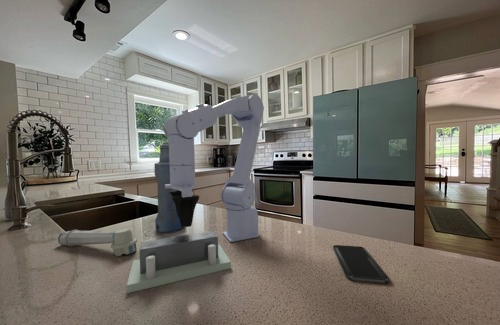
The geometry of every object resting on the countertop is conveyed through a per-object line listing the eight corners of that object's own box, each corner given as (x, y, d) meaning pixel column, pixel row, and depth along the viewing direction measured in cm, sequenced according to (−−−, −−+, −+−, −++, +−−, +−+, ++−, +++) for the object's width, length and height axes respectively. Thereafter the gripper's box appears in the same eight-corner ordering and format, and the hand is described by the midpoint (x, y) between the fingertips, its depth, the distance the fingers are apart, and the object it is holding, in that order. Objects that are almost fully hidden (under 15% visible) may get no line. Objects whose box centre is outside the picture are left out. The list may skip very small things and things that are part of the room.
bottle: (157, 225, 76) (154, 143, 75) (185, 222, 79) (183, 143, 78) (153, 234, 67) (150, 141, 66) (185, 230, 70) (183, 141, 69)
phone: (347, 277, 41) (332, 244, 56) (347, 282, 41) (332, 248, 56) (392, 281, 39) (364, 246, 54) (392, 286, 39) (364, 250, 54)
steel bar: (214, 250, 52) (213, 230, 51) (218, 257, 48) (217, 236, 48) (141, 264, 45) (141, 242, 45) (140, 274, 42) (139, 249, 41)
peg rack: (219, 249, 55) (218, 229, 55) (231, 268, 46) (230, 244, 46) (133, 266, 47) (132, 242, 47) (127, 293, 38) (125, 264, 38)
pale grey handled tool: (74, 228, 63) (139, 223, 56) (77, 249, 63) (142, 247, 56) (53, 234, 58) (122, 229, 51) (57, 257, 58) (126, 256, 51)
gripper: (163, 164, 54) (165, 216, 55) (165, 167, 41) (167, 235, 42) (191, 163, 57) (192, 212, 58) (201, 166, 44) (203, 229, 45)
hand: (184, 221), depth 50 cm, fingers open, 7 cm apart
